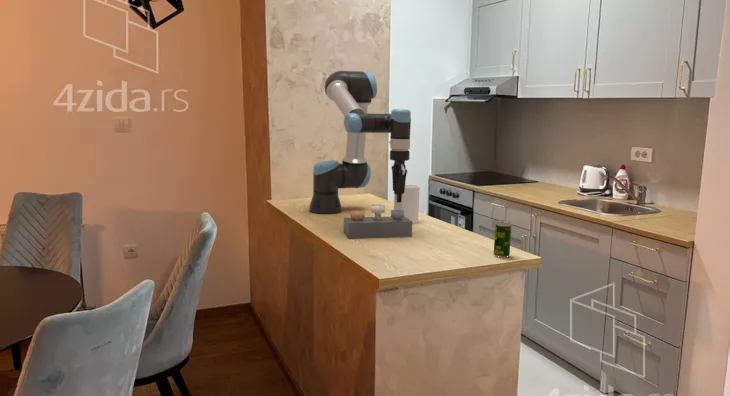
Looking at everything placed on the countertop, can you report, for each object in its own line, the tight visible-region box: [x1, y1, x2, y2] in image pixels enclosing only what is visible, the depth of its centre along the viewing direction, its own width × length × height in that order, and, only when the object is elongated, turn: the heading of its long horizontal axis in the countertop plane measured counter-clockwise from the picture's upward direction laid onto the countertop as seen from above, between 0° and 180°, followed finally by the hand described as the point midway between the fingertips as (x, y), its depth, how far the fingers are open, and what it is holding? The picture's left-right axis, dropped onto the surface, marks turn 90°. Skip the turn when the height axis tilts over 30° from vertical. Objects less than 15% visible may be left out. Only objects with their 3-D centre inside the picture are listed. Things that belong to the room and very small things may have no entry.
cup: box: [402, 183, 420, 225], centre depth 241 cm, size 8×8×16 cm
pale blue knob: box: [390, 209, 404, 220], centre depth 219 cm, size 5×5×7 cm
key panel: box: [343, 216, 413, 240], centre depth 218 cm, size 10×25×6 cm, turn 103°
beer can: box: [493, 219, 512, 258], centre depth 190 cm, size 5×5×12 cm
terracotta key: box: [350, 209, 366, 221], centre depth 215 cm, size 5×5×7 cm
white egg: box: [370, 204, 386, 220], centre depth 217 cm, size 5×5×7 cm
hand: (397, 210), depth 218 cm, fingers closed
